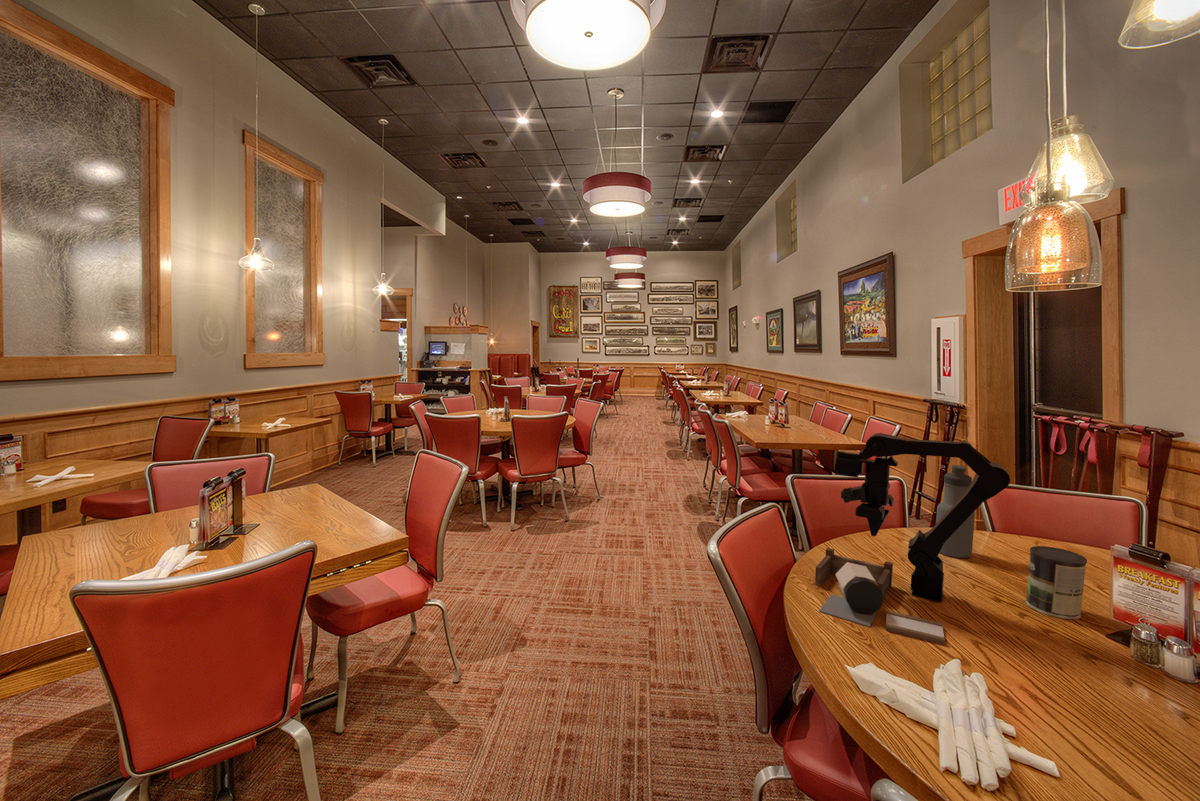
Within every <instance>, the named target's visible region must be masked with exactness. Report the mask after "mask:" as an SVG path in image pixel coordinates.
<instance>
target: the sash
mask: <svg viewBox="0 0 1200 801" xmlns="http://www.w3.org/2000/svg"><path fill="white" fill-rule="evenodd" d="M885 619H886V621H885V631H887V632H890V633H895V634H898V635H902V636H907V637H910V638H914V639H919V640H924V641H926V642H931V643H935V644H939V645H943V646H946V644H945V643H946V637H945V635H944V628H943V622H940V621H935V620H931V619H928V618H922V617H918V616H914V615H910V614H906V613H905V614H904V613H900V612H895V611H891V610H888V609H887V610H886V618H885Z"/></svg>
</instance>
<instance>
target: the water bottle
mask: <svg viewBox="0 0 1200 801" xmlns="http://www.w3.org/2000/svg"><path fill="white" fill-rule="evenodd" d="M966 470H967V468H966V466H965V465H958V464H957V465H956V464H952V465H951V472H948V473H945V474H944V476H943V482H944V483H943V484H944V491H943V501H942V502H939V503H938V505H937V507H936V517H935V518H936V519H935V525H936V524H937V522H938V521H939V520H940V519H941V518H942V517H943V516H944V515H945V514H946V513H947V512H948V511H949V509H950V508H951V507H952V506H953V505H954V504H955V503H956V502H957V501H958V500H959V499H960V498H961V496H962V495H963V494H964V493H965V492H966V491H967V490H968V488H969V486H970V484H971V482H972V480H973V477H971V476H970V475H969V474H965V473H966ZM975 511H976V510H975ZM975 511H974V512H973V513H972V514H971V515H970V516H969V517H968V518H967V520H966V521H965V522H964V523H963V524H962V525H961V526H960V527H959V528H958V529H957V530H956V531H955V532H954V533H953V534H952V535H951V536H950V537H949V538H948V540H947V541H946V542H945V543H944V545H943V547H942V549H941V551H940V553H939V554H941V555H943V556H946V557H950V558H954V559H955V558H956V559H967V558H970V557H972V555H973V548H974V547H973V545H974V543H973V542H974V533H975V532H974V531H975V518H976V512H975Z"/></svg>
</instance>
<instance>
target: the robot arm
mask: <svg viewBox="0 0 1200 801" xmlns="http://www.w3.org/2000/svg"><path fill="white" fill-rule="evenodd" d="M900 455H902V456H903V455H911V456H912V455H914V456H915V455H916V456H929V457H942V458H944V457H945V458H958V459H961V460H962V462H964V464H966V465H967V466H968V467H969V468H970V469H971V471H972V472H974V473H975V474H974V476H973V477H972V482H971V484H970V486H969V488H968V490H967V491H966V492H965V493H964V494H963V495H962V496H961V498H960V499H959V500H958V501H957V502H956V503H955V504H954V505H953V506H952V507H951V508H950V509H949V511H948V512H947V513H946V514H945V515H944V516H943V517H942V518H941V519H940V520H939V521H938V522H937V524H936V523H935V524H934V526H933V527H932V528H931V529H930V530H928V531H926V532H924V533H923V532H922V530H920V529H918V530H917V532H916V534H915V535H914V537H911V538H910V539H909V540H908V552H907V559H908V561H909V563H910V564H911V565H913V566H915V567H914V570H913V571H912V573H911V576H910V590H911V595H912V596H914V597H920V598H923V599H928V600H931V601H935V602H938V603H942V601H943V598H944V578H945V572H944V561H943V560H942V558H940V557H939V554H941V553H940V551H941V549H942V547H943V545H944V543H945V542H946V541H947V540H948V538H949V537H950V536H951V535H952V534H953V533H954V532H955V531H956V530H957V529H958V528H959V527H960V526H961V525H962V524H963V523H964V522H965V521H966V520H967V518H968V517H969V516H970V515H971V514H972V513H973V512H974V511H976V510H977V509H978V508H979V507H980V506H981V505H982V504H983V503H984V502H986V501H988V500H990V499H991V498H993V497H995V496H997V495H998V494H1000V493H1001V492H1003V491H1004V490H1005V489H1006V488H1008V486H1009V485H1010V482H1011V477H1010V475H1009V472H1008V471H1007V470H1006V468H1005V467H1004V466H1003V465H1002V464H999V463H997V462H992V461H990V460H989V459H988V458H987V457H986V456H984V455H983V454H982V453H981V452H979V451H978V449H976V448H975V447H973V445H972V444H971V443H970V442H969V441H964V440H961V441H960V440H959V441H951V440H934V439H933V440H930V439H929V440H928V439H915V438H914V439H912V438H911V439H910V438H904V437H900V436H897V435H893V434H892V435H891V434H887V433H883V432H881V433H880V432H879V433H878V432H876V433H874V434H872V435H870V437H868V439H867V440H866V443H865V448H864V449H861V450H860V451H859V453H858V452H857V453H856V452H849V451H848V452H847V451H843V450H839V451H837V452H836V460H835V463H834V475H836V476H840V477H841V476H842V477H850V478H858V477H859V476H860V475H863V473H864V482H863V483H862V484H861V485H859V486H854V487H847V488H846V487H844V488H843V489H842V490H840V498H841V499H842V500H843V503H844V504H845V503H846V504H847V503H849V502H855V501H860V504H859V505H857V507H855V514H854V515H855V516H856V517H859V518H865V519H866V520H867V524H868V528H869V531H870V536H871V537H877V535H878V533H879V531H880V530H881V527H882V525H884V524H883V523H885V520H886V519H887V517H888V514H889V513H890V510H889V509H887V508H886V509H885V507H887V505H888V506H889V507H891V508H892V507H893V506H894V499H895V497H893V496H892V495H891V494H889V489H890V488H891V483H890V467H898V464H899V462H898V461H897V460H896V459H895V458H894V457H895V456H900ZM872 457H875V458H874V459H871V458H872ZM864 464H865V466H864ZM864 468H865V470H864Z"/></svg>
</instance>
